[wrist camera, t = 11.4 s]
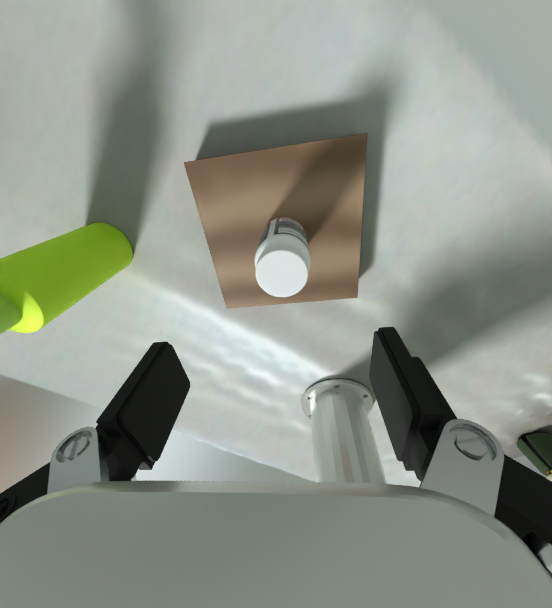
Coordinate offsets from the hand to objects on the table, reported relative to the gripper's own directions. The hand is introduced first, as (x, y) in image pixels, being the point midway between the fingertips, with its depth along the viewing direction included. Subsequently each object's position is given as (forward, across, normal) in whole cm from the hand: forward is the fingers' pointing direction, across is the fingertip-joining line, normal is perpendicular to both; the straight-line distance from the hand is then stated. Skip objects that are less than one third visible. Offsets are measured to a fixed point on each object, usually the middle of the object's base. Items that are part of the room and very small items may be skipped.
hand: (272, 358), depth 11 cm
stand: (+20, 0, 0) cm, 20 cm away
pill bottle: (+17, 0, 0) cm, 17 cm away
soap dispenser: (+20, +22, -2) cm, 30 cm away
